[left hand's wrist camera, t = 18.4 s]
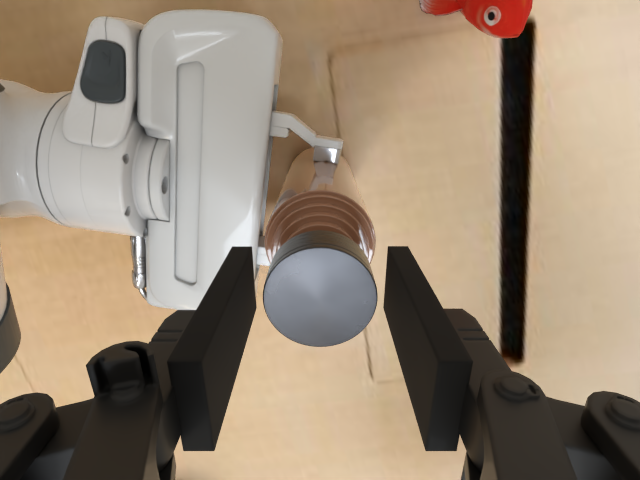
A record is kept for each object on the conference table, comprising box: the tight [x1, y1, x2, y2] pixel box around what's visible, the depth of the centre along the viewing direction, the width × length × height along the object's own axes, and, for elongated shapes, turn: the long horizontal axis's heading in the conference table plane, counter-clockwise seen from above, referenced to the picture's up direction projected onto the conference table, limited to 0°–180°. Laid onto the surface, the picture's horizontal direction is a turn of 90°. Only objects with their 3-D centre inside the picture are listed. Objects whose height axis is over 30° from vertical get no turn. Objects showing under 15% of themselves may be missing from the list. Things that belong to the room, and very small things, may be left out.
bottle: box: [265, 147, 376, 264], centre depth 23 cm, size 5×5×19 cm
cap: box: [263, 230, 377, 347], centre depth 14 cm, size 4×4×2 cm
